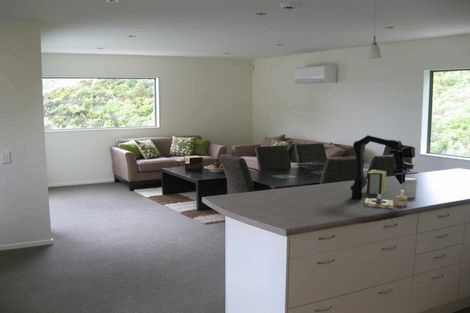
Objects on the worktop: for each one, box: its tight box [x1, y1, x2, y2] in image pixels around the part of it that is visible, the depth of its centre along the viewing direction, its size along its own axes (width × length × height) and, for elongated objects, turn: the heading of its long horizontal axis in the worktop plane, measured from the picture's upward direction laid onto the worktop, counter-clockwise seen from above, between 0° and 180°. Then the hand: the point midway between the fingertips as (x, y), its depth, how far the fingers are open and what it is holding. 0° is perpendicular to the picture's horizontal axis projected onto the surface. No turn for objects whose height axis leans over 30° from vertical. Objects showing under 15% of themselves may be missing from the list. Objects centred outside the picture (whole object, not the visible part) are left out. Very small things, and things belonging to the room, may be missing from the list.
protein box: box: [366, 169, 387, 196], centre depth 357 cm, size 10×15×16 cm
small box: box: [400, 177, 418, 199], centre depth 345 cm, size 8×6×13 cm
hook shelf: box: [364, 194, 394, 209], centre depth 320 cm, size 17×15×6 cm
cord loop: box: [395, 189, 408, 207], centre depth 319 cm, size 6×3×10 cm, turn 73°
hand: (402, 183), depth 315 cm, fingers open, 9 cm apart
